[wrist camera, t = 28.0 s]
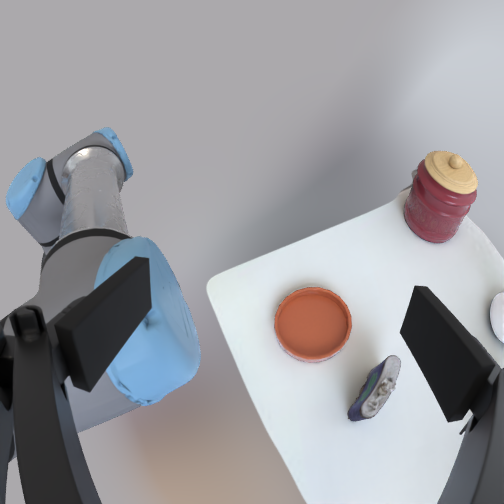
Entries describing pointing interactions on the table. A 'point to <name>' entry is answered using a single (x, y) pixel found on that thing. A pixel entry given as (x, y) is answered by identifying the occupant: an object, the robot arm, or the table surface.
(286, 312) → the terracotta plant saucer
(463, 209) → the kitchen canister
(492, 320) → the flower in vase
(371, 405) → the flask
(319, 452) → the table surface
